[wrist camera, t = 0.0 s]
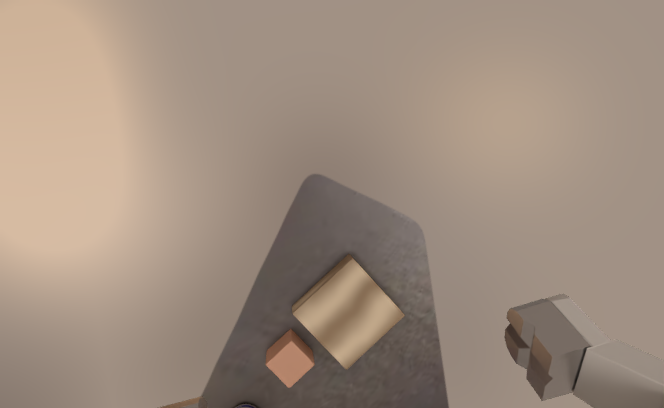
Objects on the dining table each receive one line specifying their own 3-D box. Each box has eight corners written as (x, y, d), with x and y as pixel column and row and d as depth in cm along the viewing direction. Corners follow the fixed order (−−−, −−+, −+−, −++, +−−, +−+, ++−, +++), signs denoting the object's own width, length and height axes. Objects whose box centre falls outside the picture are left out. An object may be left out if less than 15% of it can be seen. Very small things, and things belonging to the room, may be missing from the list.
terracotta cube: (312, 350, 67) (314, 364, 62) (288, 372, 67) (289, 388, 62) (290, 328, 66) (291, 340, 61) (266, 350, 66) (265, 364, 61)
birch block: (397, 307, 68) (404, 315, 64) (342, 358, 68) (346, 369, 64) (348, 253, 67) (352, 258, 63) (291, 305, 66) (292, 313, 62)
